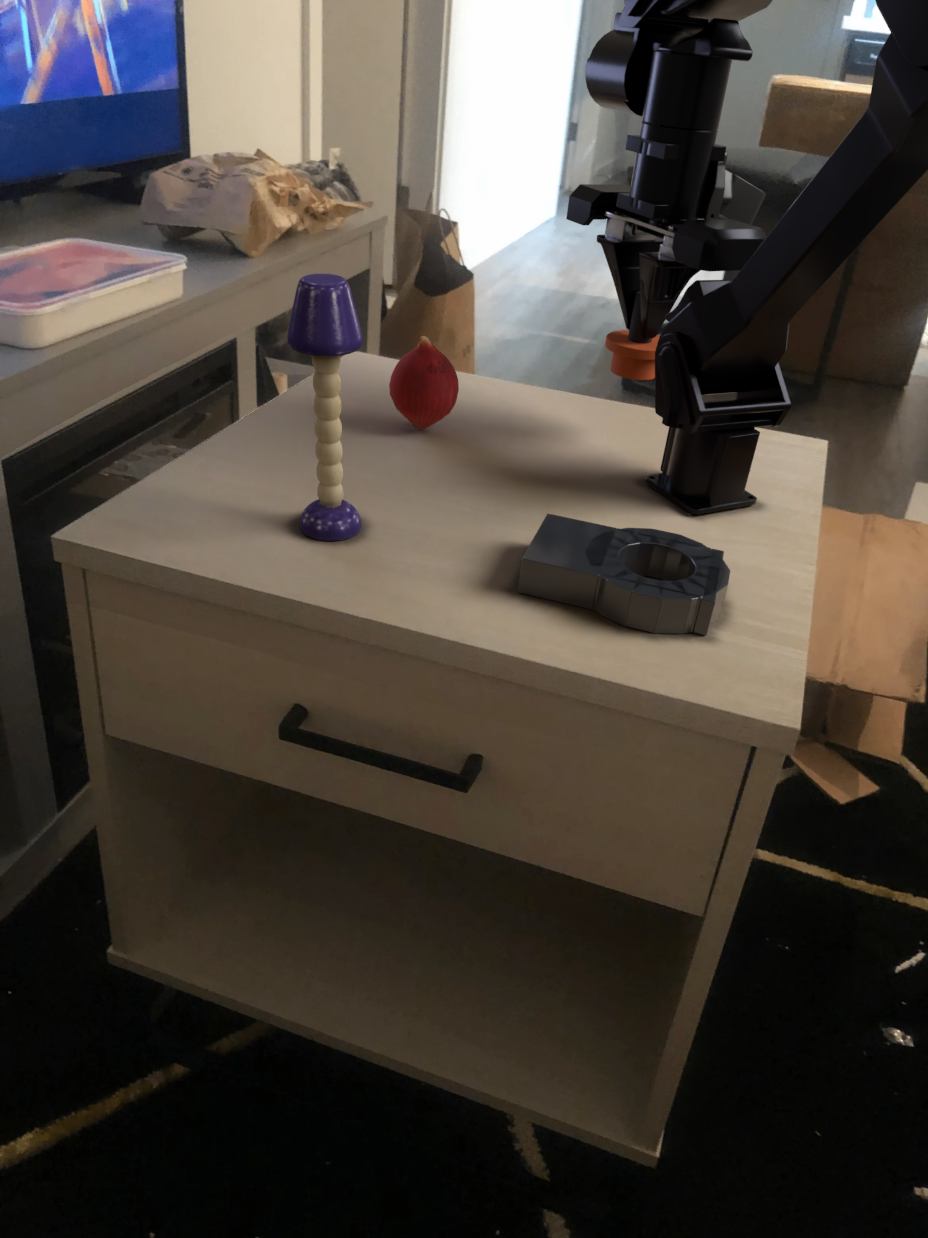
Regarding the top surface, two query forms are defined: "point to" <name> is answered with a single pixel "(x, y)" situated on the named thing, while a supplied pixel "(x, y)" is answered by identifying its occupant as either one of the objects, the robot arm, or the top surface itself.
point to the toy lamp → (326, 393)
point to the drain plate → (627, 574)
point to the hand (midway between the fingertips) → (640, 333)
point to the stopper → (633, 349)
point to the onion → (424, 385)
